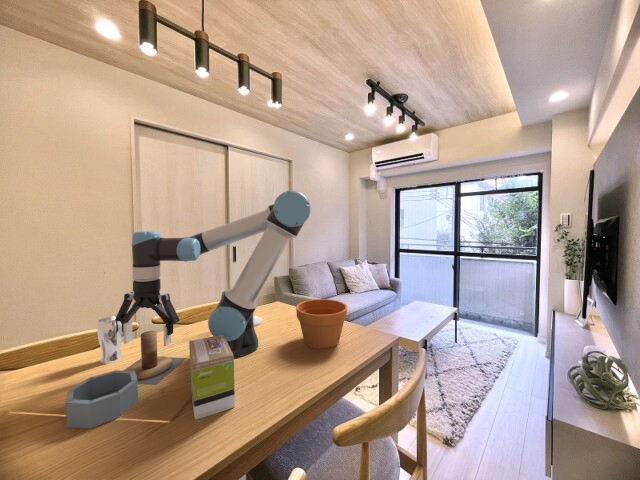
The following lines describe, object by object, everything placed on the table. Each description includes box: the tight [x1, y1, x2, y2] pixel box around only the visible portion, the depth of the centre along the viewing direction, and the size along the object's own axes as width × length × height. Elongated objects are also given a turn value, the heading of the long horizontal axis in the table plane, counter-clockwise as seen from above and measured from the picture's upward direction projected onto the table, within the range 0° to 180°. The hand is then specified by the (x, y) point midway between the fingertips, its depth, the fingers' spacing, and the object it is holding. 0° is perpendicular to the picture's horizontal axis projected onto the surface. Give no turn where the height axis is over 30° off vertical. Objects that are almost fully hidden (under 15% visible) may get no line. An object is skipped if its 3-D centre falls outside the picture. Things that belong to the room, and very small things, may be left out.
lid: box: [125, 330, 172, 380], centre depth 87 cm, size 13×13×12 cm
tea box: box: [188, 334, 236, 421], centre depth 73 cm, size 15×10×15 cm, turn 29°
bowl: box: [65, 370, 139, 429], centre depth 69 cm, size 14×14×6 cm
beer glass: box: [97, 315, 124, 365], centre depth 93 cm, size 7×7×15 cm
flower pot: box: [295, 298, 348, 349], centre depth 110 cm, size 21×21×15 cm
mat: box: [122, 356, 188, 386], centre depth 88 cm, size 16×16×1 cm
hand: (147, 343), depth 87 cm, fingers open, 13 cm apart
